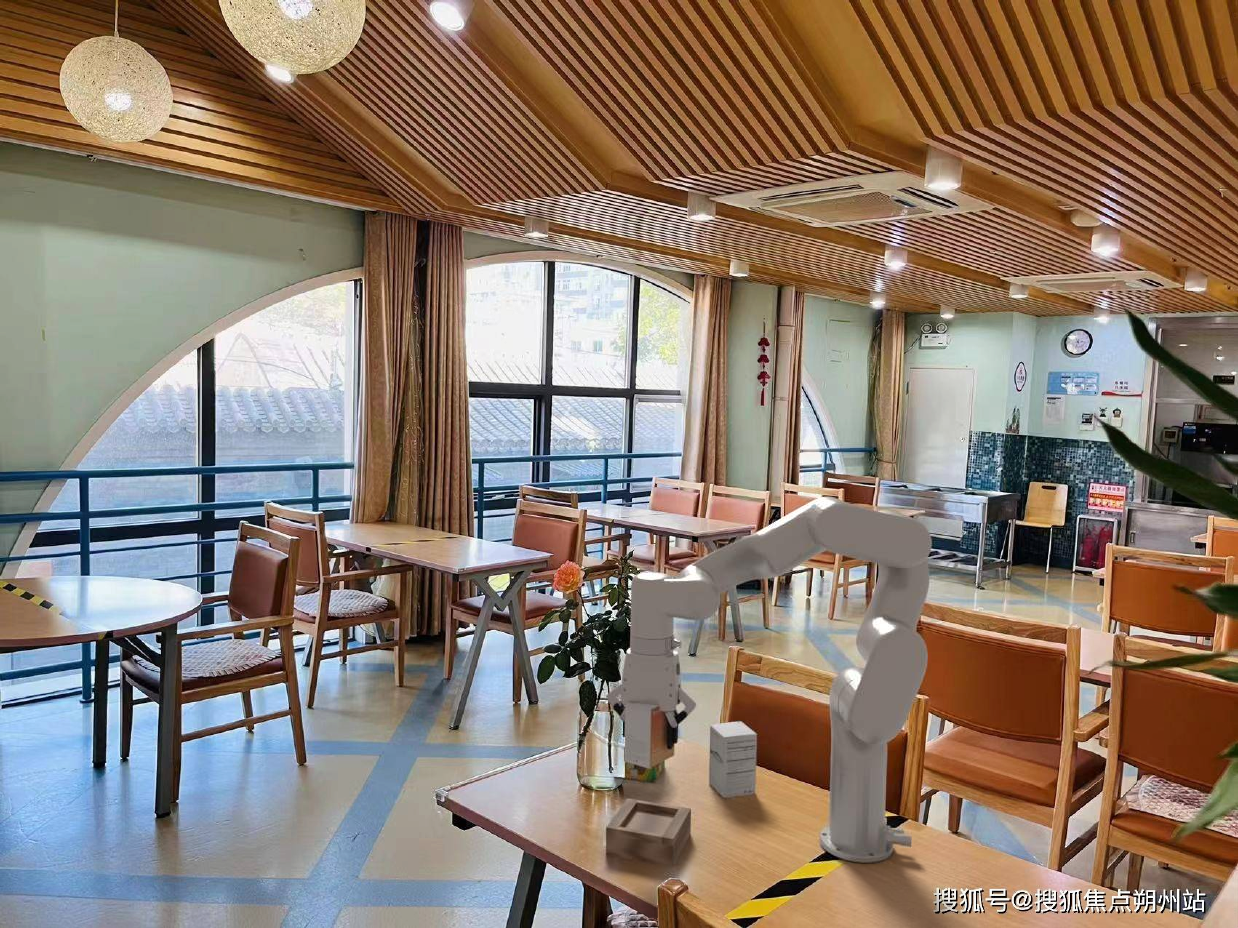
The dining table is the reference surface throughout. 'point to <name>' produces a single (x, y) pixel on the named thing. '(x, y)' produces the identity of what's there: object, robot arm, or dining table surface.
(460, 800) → the dining table surface
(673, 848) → the walnut base brick
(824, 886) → the dining table surface
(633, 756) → the small box
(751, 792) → the supplement box
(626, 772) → the chalk box
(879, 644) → the robot arm
